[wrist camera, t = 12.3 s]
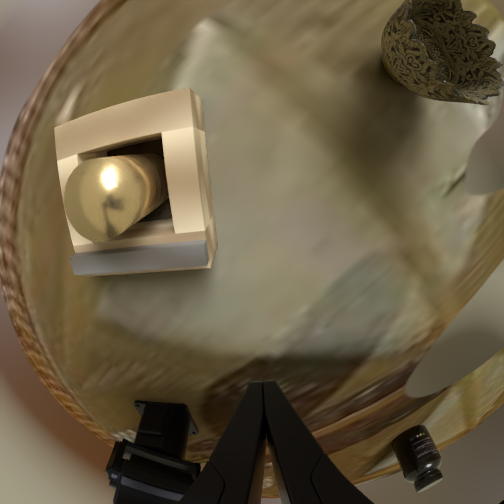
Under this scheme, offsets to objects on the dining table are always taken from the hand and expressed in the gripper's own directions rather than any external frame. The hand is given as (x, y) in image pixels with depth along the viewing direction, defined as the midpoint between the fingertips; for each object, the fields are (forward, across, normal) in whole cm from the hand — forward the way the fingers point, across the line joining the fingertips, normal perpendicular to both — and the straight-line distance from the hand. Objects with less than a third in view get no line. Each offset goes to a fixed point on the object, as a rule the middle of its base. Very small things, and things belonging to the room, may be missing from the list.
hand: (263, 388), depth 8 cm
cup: (+12, -12, -14) cm, 22 cm away
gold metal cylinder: (+12, +7, -6) cm, 15 cm away
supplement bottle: (+12, -24, +36) cm, 45 cm away
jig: (+12, +7, -6) cm, 15 cm away
